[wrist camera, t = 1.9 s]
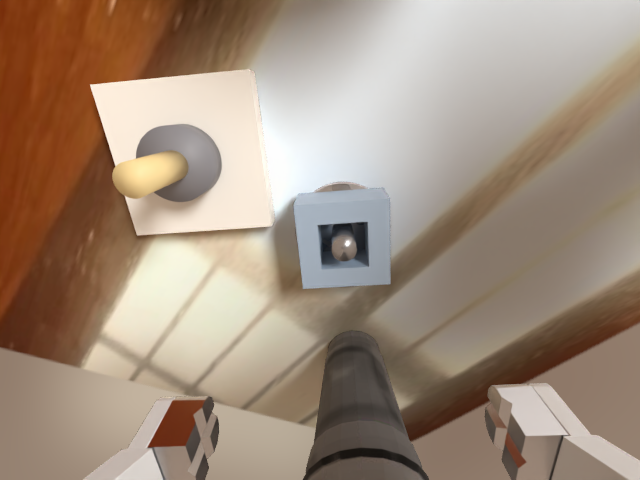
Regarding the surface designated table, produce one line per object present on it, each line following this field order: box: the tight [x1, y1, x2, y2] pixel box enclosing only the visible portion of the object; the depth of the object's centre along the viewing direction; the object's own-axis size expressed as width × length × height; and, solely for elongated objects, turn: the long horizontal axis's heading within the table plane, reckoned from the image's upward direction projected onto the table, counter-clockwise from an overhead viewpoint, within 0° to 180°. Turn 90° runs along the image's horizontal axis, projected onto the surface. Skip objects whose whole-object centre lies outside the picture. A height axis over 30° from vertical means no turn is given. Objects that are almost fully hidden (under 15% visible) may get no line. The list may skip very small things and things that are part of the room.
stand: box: [295, 182, 368, 261], centre depth 23 cm, size 7×7×4 cm
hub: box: [90, 69, 275, 235], centre depth 19 cm, size 10×10×8 cm
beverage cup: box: [303, 331, 429, 480], centre depth 20 cm, size 7×7×20 cm
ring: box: [293, 188, 390, 289], centre depth 23 cm, size 6×6×3 cm
